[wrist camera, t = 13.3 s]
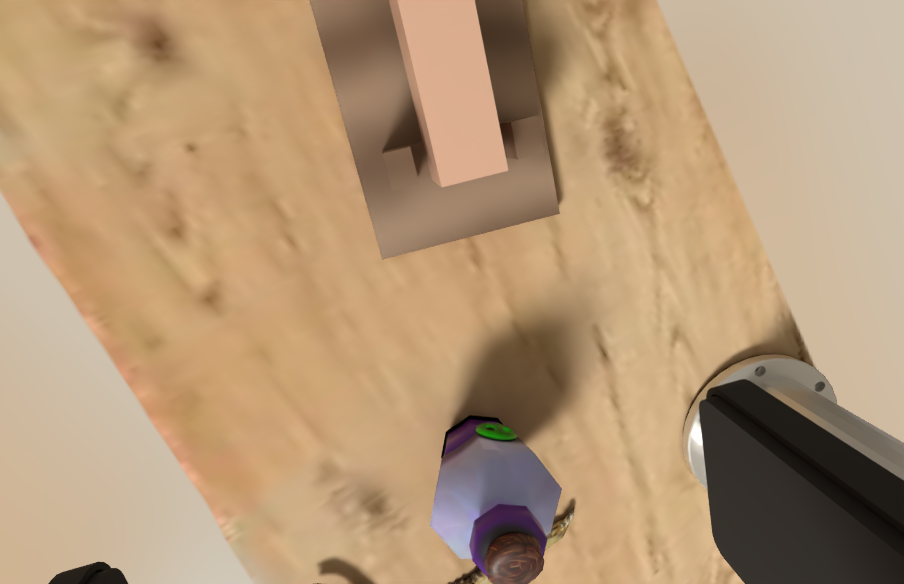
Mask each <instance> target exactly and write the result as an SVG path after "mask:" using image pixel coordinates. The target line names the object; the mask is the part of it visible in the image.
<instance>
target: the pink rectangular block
mask: <svg viewBox="0 0 904 584" xmlns="http://www.w3.org/2000/svg"><path fill="white" fill-rule="evenodd" d="M389 3H390V7H391V11H392V15H393V20H394V24H395V28H396V32H397V36H398V40H399V45H400V49H401V53H402V57H403V61H404V65H405V69H406V74H407V78H408V82H409V86H410V90H411V94H412V98H413V103H414V107H415V111H416V115H417V119H418V123H419V127H420V132H421V136H422V140H423V144H424V148H425V152H426V157H427V161H428V165H429V169H430V173H431V177H432V181H434V182H435V183H436V184H438V185H439V186H440V187H446V186H450V185H453V184H457V183H461V182H465V181H469V180H473V179H477V178H481V177H485V176H489V175H493V174H497V173H501V172H505V171H508V166H507V161H506V156H505V151H504V146H503V141H502V136H501V131H500V126H499V120H498V115H497V110H496V105H495V100H494V95H493V90H492V85H491V80H490V75H489V70H488V65H487V60H486V55H485V50H484V45H483V40H482V35H481V30H480V25H479V20H478V15H477V10H476V5H475V0H389Z"/></svg>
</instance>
